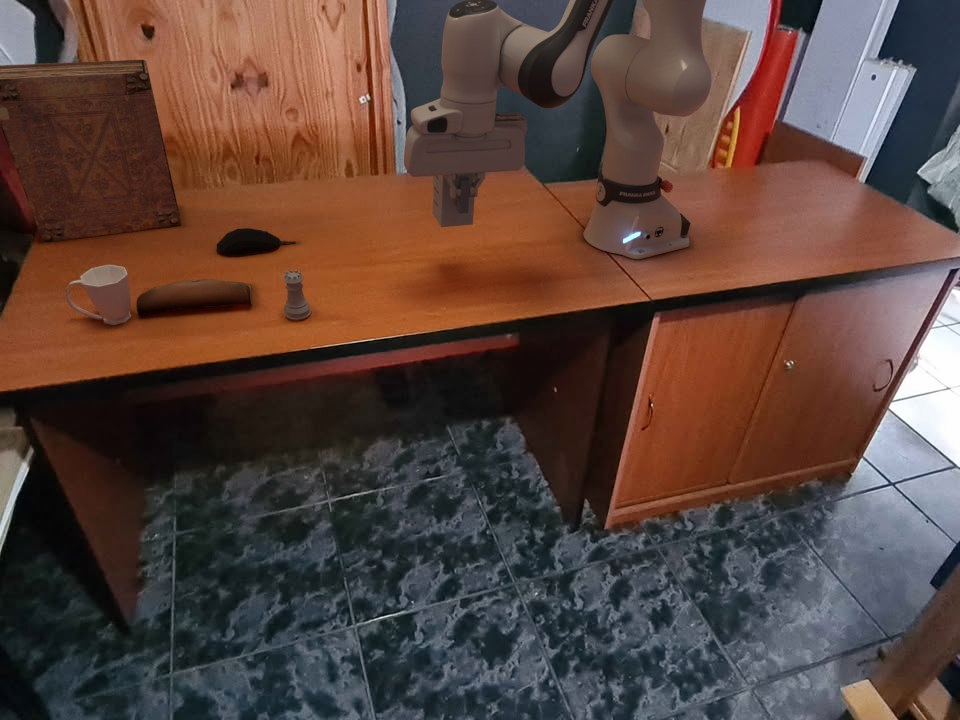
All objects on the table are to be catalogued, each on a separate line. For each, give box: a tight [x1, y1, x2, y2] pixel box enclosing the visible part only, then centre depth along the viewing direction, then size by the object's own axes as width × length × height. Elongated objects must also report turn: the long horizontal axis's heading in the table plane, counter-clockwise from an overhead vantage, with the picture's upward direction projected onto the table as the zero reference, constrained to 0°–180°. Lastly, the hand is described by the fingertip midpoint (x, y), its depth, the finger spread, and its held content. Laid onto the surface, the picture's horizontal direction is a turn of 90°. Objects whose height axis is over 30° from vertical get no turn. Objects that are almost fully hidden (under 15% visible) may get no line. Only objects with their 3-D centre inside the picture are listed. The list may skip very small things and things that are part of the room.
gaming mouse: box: [216, 227, 297, 257], centre depth 134 cm, size 6×15×4 cm, turn 109°
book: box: [0, 59, 182, 243], centre depth 131 cm, size 25×9×30 cm, turn 113°
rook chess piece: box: [282, 269, 312, 321], centre depth 115 cm, size 4×4×8 cm
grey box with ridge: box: [432, 173, 476, 228], centre depth 122 cm, size 10×6×9 cm
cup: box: [65, 264, 132, 326], centre depth 111 cm, size 7×10×8 cm
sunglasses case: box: [136, 278, 253, 316], centre depth 117 cm, size 18×7×7 cm
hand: (463, 196), depth 118 cm, fingers closed on grey box with ridge
